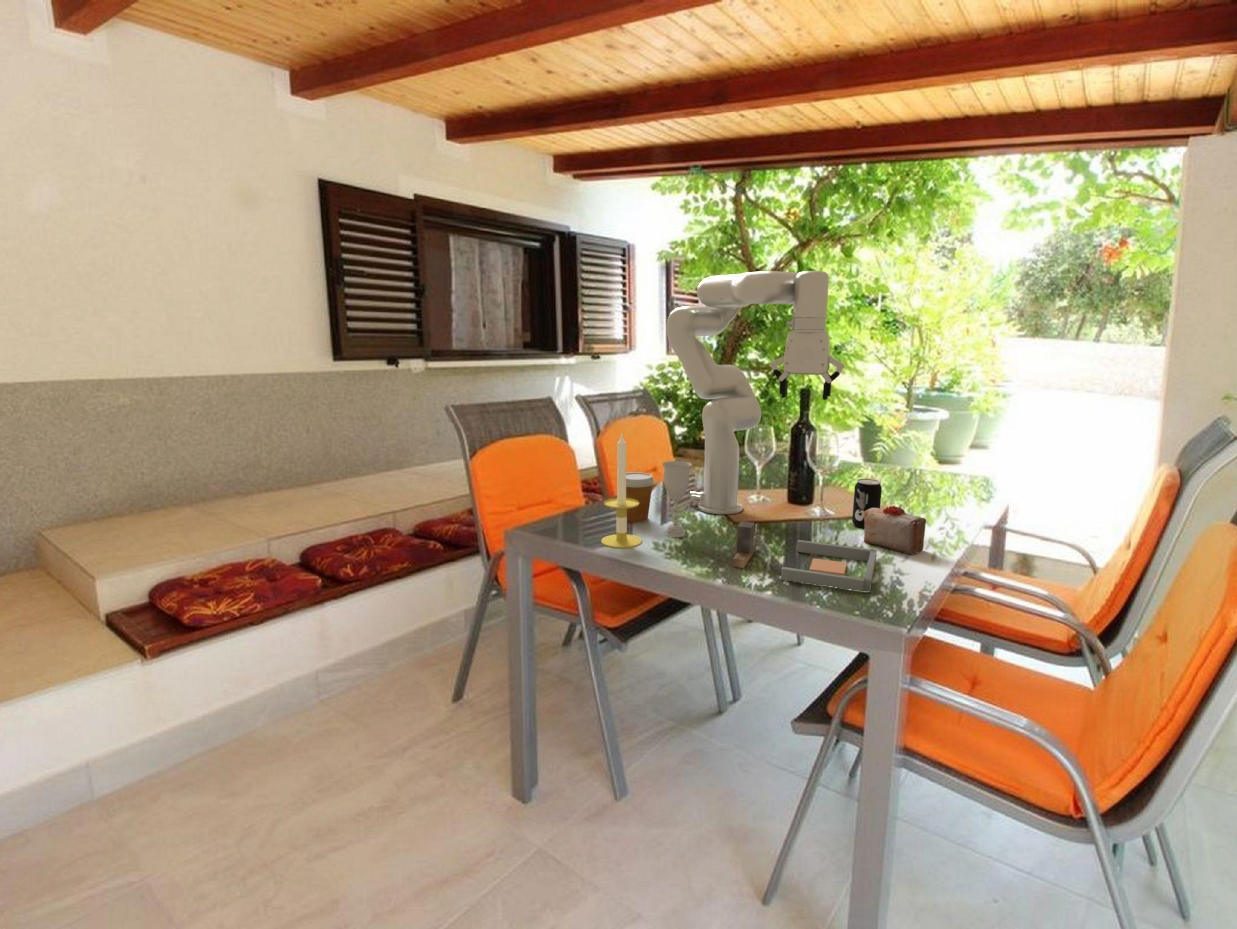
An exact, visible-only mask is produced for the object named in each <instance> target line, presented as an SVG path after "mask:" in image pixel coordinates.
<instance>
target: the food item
mask: <svg viewBox="0 0 1237 929" xmlns="http://www.w3.org/2000/svg"><path fill="white" fill-rule="evenodd" d="M864 523H865V526H864V528H863V529H864V532H863V533H864V534H863V535H864V536H863V543H867V544H871V545H875V546H880V547H883V548H887V549H891V550H893V551H897V552H899V553H900V552H901V553H904V554H908V555H917V554H918V553H921V552H923V549H924V544H925V543H924V542H925V534H926V533H925V532H926V523H927V519H926V518H924V517H921V516H918V515H913V514H909V513H906V512H905V510H904V508H902V505H901V504H900V505H899V506H895V505H891V506H887V507H885V508H881V507H880V508H870V509H868V510H866V511H864Z"/></svg>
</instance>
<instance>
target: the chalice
mask: <svg viewBox="0 0 1237 929" xmlns="http://www.w3.org/2000/svg"><path fill="white" fill-rule="evenodd" d="M661 466H662V467H663V485H664V487H665V490H666V492H667V494H668V495H667V496H668V497H669V499H670V500H671V501H673V507H672V509H673V514H672V517H673V522H672V523H671V524H669V525H668V527H667V530H666V532H665V535H666V536H667V537H672V538H683V537H685V536H686V535H687V534H686V532H685V529H684V527H683V526H682V524H681V523H679V520H678V519H679V517H680V514H679V509H680V507H679V501H682V500H683V497H684V496H685V494H686V492H687V490H688V487H689V485H690V468H691V466H692V463H691V462H688V461H680V460H676V461H675V460H674V461H673V460H670V461H664V462H662V463H661Z"/></svg>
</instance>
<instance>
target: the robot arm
mask: <svg viewBox="0 0 1237 929" xmlns="http://www.w3.org/2000/svg"><path fill="white" fill-rule="evenodd" d="M829 280H830V278H829V274H828V273H827V272H826V271H822V270H805V271H800V272H793V271H792V272H791V271H780V270H779V271H777V270H775V271H774V270H773V271H772V270H767V271H766V270H765V271H764V270H761V271H752V272H749V271H748V272H742V273H731V274H721V275H720V274H719V275H710V276H708V277H706V278H703V279H702V280H701V281H700V282H699V284H698V286H697V288H696V296H697V298H698V300H699V302H700V303H701V304H703V305H684V306H679V307H676V308H675V309H673V310H672V311H671V312H670V313H669V314H668V315H669V316H668V317H667V321H666V336H667V339H668V343H669V344H670V347H671V349H672V350H673V352H674V354H675V355H676V357H677V358H678V360H679V361H680V362H681V363H680V364H681V365H682V367H683V369H684V373H686V377H687V378H688V380H689V383H690V384H691V386H692V388H693V390H694V393H695V394H696V395H697V397H699V398H700V399H702V400H709V401H708V402H707V403H705V405H704V406H703V409H702V413H701V420H702V425H703V432H704V433H703V434H704V469H703V470H704V471H703V472H704V474H703V491H700V492H697V491H690V492H689V498H690V500H695V501H696V500H697V501H699V502H698V503H697V508H698V510H699V511H702V512H704V513H706V514H707V513H708V514H713V515H734V514H738V513H740V512H742V511H743V509H744V508H743V504H742V503H741V502H739V501H738V491H739V472H740V471H739V467H740V466H739V464H740V446H739V441H738V439H737V437H736V434H735V432H738V431H744V430H745V431H746V430H751V429H753V428H755V427H757V426H758V424H759V423H760V422H761V419H762V418H761V417H762V409H761V405H760V403H759V401H758V398H757V396H756V395H755V393H754V391H753V389H752V386H751V385H750V382H749V380H748V378H747V377H746V375H745V373H744V371H743V370H741V369H740V368H739V367H738V366H736V365H733V364H718V363H716V362H715V360H714V359H713V358H714V357H712V355H711V352H710V350H709V349H708V348H707V347H706V345H704V343H703V342H702V341H700V340H699V339H698V338H697V337H707V336H708V337H712V336H713V337H714V336H717V335H719V334H721V333H722V332H723V331H725V330H726V328H727V327H728V326H729V325H730V324H731V322H732V321H733V319H735V317H736V316H737V315H738V313H739V312H740V311H741V309H742V308H747V307H748V306H750V305H754V304H755V305H756V304H757V305H758V304H761V305H763V304H765V305H768V304H769V305H773V304H774V305H793V312H792V314H793V315H792V319H790V320H787V321H786V324H785V325H786V327H789V328H791V331H788V333H787V338H786V341H785V342H786V343H785V349H784V355H782V356H780V357H778V358H776V359H775V360H774V359H773V360H771V361H770V363H769V366H770V367H771V370H772V373H773V374H774V376H776V378H777V379H778V380H779V395H781V398H782V399H784V398H786V397H787V396H788V386H789V381H788V379H787V378H788V377H789V376H790V375H807V376H808V375H813V376H821V377H822V378H823V379H824V383H823V387H822V388H823V389H822V400H823V401H827V400H828V398H829V397H831V392H832V391H831V390H832V383H833V381H834V380H836V379H837V378H838V377H839V376H840V374H841V373H842V371H843V370H844V369H845V366H846V364H844V363H843V362H841V361H839V360H838V359H836V358H834V357H832V356H830V338H829V337H830V335H829V331H826V326H827V313H828V312H827V311H828V310H827V309H828V296H829V285H830V284H829V282H830V281H829ZM782 363H783V365H782V366H783V367H782V368H783V373H782V371H781V370H780V369H779V366H778V365H780V364H782ZM830 364H831V365H832V366H835V367H836V369H835V371H834V372H833V373H832V374H830V372H829V370H830Z"/></svg>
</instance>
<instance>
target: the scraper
mask: <svg viewBox="0 0 1237 929" xmlns="http://www.w3.org/2000/svg"><path fill="white" fill-rule="evenodd" d="M754 536H755V522H750V521H742V520H741V521H740V522H739V524H738V525H737V531H736V551H735V552H736V554H735V555H734V556H733V558H732V567H733V568H734V567H735V568H742V569H744V568H745V567H746V565H747V564H748V562H749V560H750V559H751V558H752V556H753V555H754V553H755V551H756V549H757V547H756V546H757V542H756V541H755V537H754Z"/></svg>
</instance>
